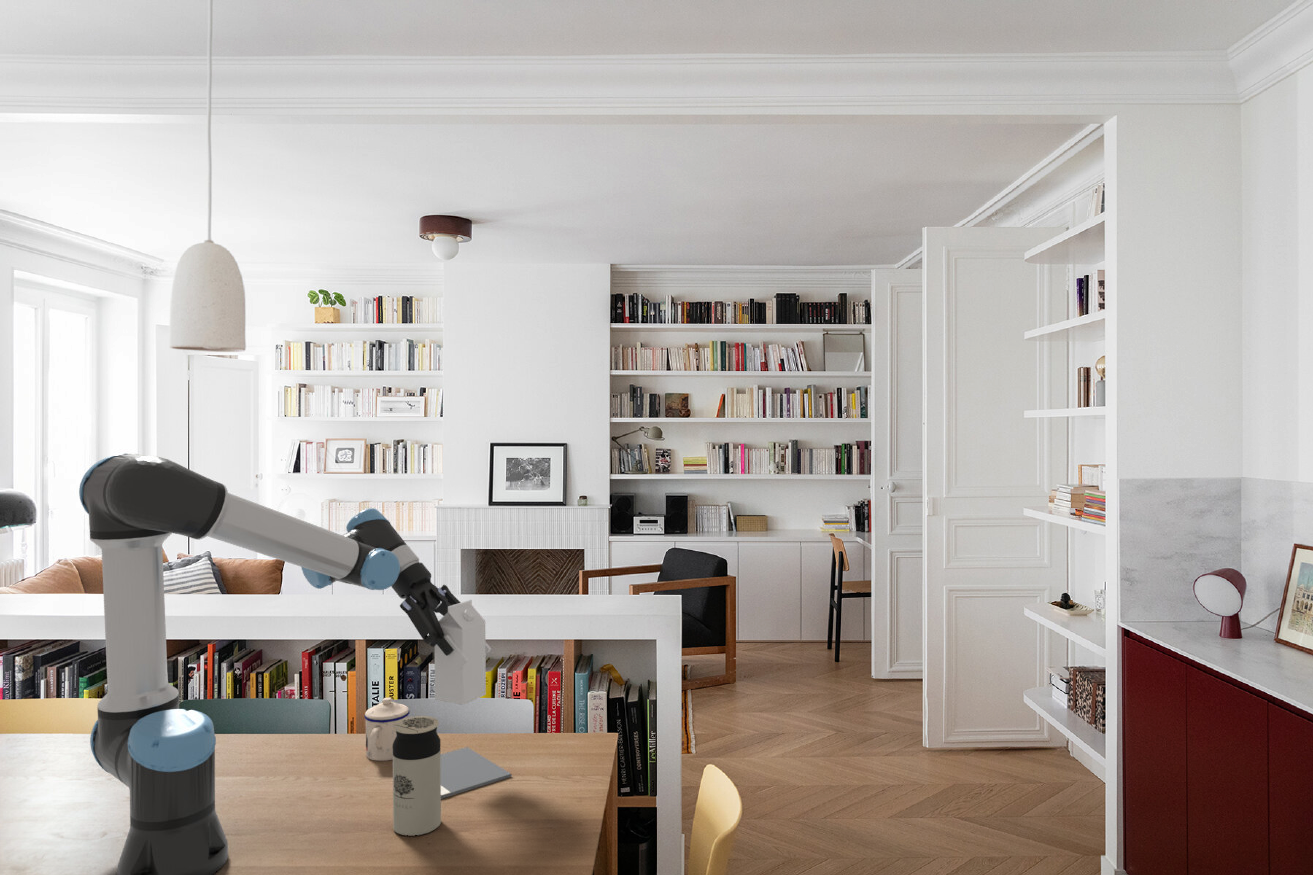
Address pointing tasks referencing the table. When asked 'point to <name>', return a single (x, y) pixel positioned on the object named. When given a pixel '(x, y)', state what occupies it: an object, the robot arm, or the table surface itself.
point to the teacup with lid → (383, 728)
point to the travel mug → (416, 776)
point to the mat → (467, 771)
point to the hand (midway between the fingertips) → (475, 659)
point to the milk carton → (470, 639)
